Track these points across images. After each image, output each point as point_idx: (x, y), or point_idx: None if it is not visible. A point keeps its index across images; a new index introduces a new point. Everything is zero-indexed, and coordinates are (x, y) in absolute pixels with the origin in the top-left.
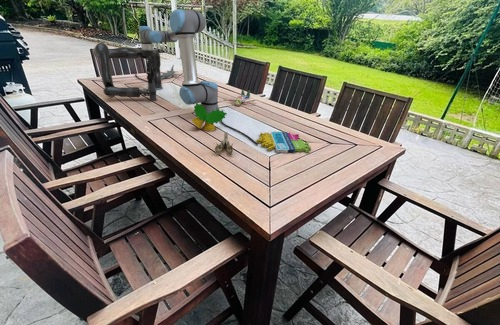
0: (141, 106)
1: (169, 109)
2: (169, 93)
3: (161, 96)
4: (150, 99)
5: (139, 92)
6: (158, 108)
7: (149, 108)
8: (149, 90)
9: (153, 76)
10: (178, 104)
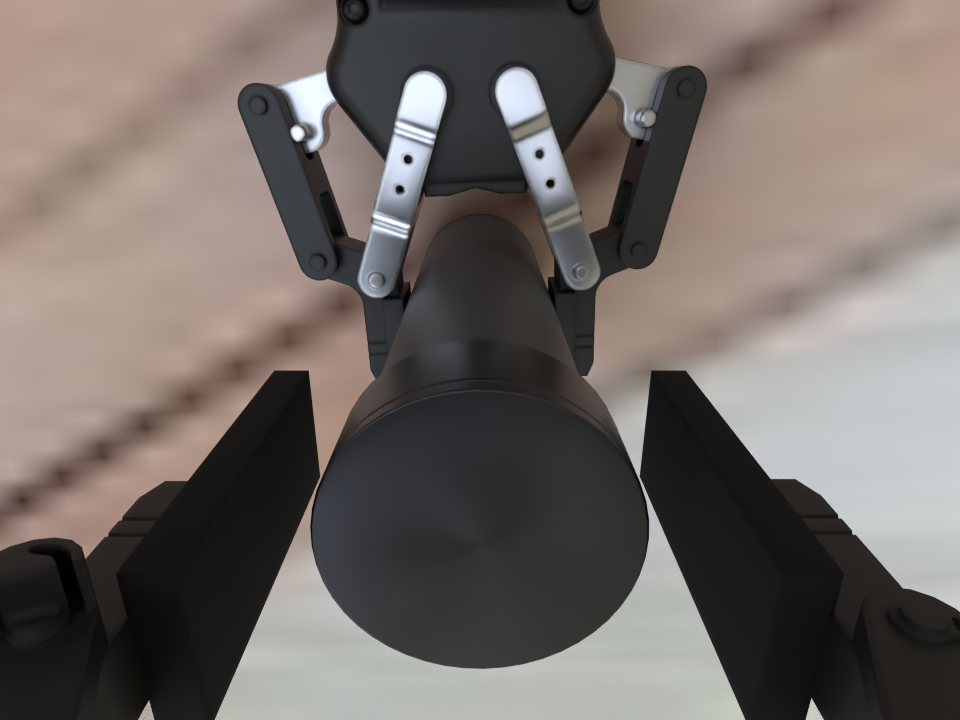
0: (83, 110)
1: (39, 532)
2: (902, 484)
3: (725, 378)
4: (441, 233)
5: (338, 24)
6: (45, 393)
7: (8, 263)
8: (423, 279)
9: (447, 645)
10: (288, 620)
